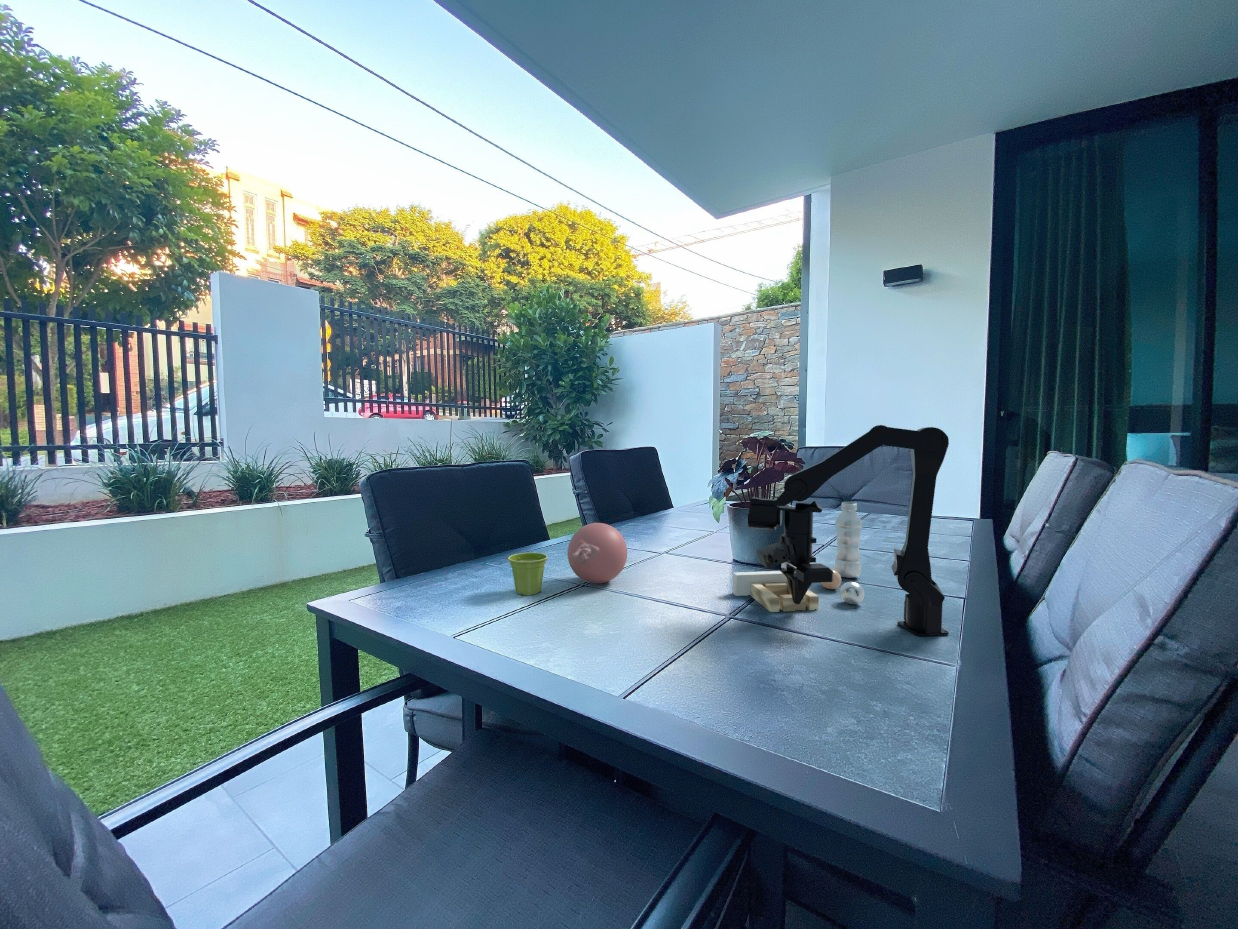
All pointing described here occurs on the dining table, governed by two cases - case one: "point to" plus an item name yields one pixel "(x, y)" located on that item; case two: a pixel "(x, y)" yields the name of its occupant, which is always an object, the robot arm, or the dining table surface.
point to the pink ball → (597, 553)
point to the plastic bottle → (848, 541)
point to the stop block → (754, 580)
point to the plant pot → (528, 572)
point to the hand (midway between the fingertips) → (796, 603)
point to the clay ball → (835, 582)
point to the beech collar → (781, 597)
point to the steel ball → (852, 592)
